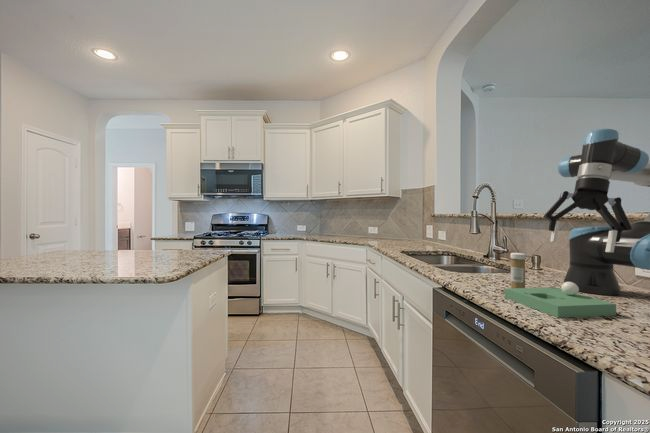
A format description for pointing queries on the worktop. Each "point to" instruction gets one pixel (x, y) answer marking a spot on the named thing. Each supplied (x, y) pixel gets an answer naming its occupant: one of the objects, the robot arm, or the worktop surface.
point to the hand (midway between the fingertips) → (580, 246)
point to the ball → (570, 288)
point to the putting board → (560, 302)
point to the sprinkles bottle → (517, 270)
